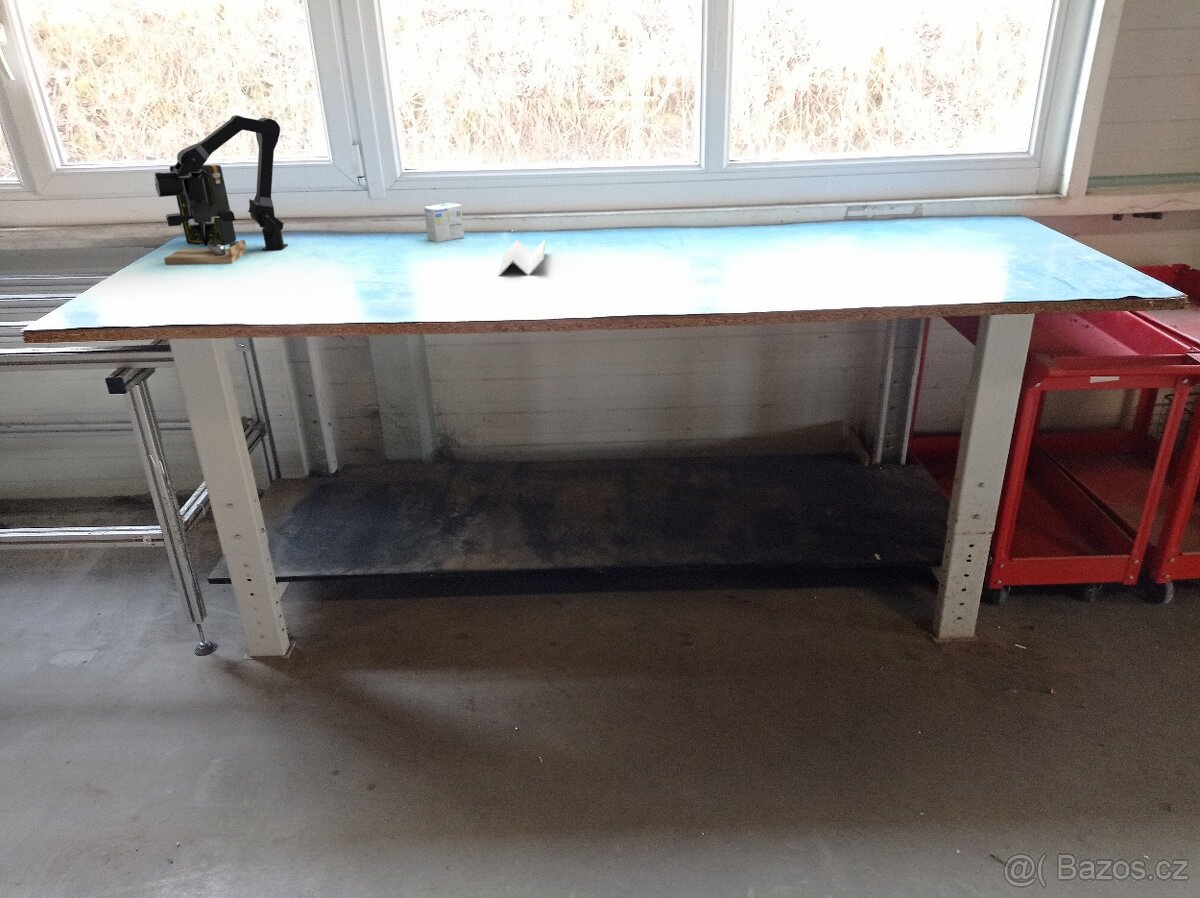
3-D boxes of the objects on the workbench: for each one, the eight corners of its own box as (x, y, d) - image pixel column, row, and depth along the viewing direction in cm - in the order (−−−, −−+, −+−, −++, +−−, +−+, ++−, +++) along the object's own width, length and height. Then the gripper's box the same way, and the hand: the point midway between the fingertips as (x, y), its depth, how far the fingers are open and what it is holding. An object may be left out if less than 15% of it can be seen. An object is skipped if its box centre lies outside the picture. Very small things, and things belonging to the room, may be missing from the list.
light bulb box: (454, 234, 288) (451, 201, 283) (465, 237, 283) (462, 204, 278) (426, 239, 282) (423, 206, 277) (436, 242, 277) (433, 209, 272)
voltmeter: (183, 244, 282) (165, 166, 271) (201, 239, 289) (184, 162, 278) (223, 247, 278) (206, 167, 266) (240, 241, 285) (224, 163, 274)
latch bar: (227, 254, 258) (225, 245, 257) (216, 255, 257) (214, 246, 256) (217, 247, 266) (215, 238, 265) (207, 249, 265) (205, 240, 263)
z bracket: (514, 291, 241) (497, 276, 239) (519, 268, 263) (503, 254, 261) (543, 260, 237) (526, 244, 235) (545, 240, 259) (530, 225, 257)
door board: (182, 255, 268) (179, 241, 266) (247, 253, 269) (245, 239, 267) (165, 264, 257) (162, 250, 255) (233, 263, 258) (230, 249, 256)
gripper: (164, 200, 245) (175, 254, 252) (232, 195, 254) (242, 247, 260) (161, 194, 254) (172, 247, 261) (227, 190, 262) (236, 241, 269)
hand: (206, 246), depth 263 cm, fingers closed
